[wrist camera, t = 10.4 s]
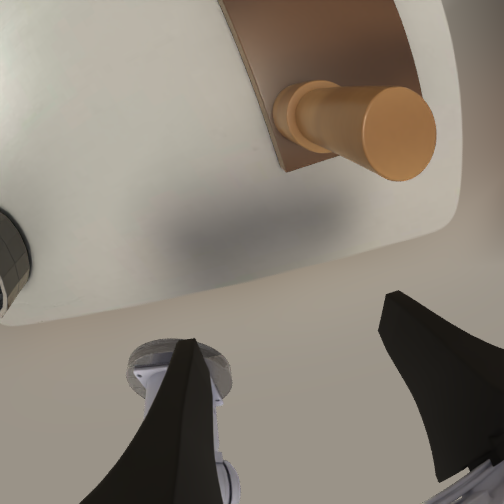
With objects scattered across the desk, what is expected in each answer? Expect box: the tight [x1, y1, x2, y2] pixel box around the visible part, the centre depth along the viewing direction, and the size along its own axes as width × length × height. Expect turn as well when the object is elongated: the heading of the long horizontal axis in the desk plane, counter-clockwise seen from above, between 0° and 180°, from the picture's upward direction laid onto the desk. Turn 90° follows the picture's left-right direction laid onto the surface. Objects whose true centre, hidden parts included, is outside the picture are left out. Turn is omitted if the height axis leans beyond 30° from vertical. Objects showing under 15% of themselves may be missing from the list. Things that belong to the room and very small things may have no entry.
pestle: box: [273, 80, 436, 181], centre depth 10 cm, size 4×4×9 cm
